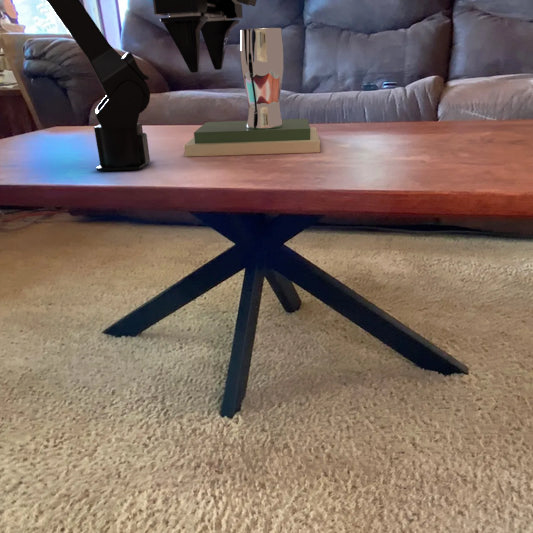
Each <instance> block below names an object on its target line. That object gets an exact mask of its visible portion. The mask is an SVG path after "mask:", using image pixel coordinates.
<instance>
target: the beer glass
mask: <svg viewBox="0 0 533 533" xmlns="http://www.w3.org/2000/svg"><path fill="white" fill-rule="evenodd" d="M239 38H240V39H239V40H240V42H239V43H240V44H239V45H240V48H239V53H240V56H239V57H240V69H241V75H242V80H243V85H244V89H245V94H246V98H247V109H248V111H247V118H246V119H247V120H246V121H247V128H249V129H274V128H279V127H282V126H283V123H282V120H283V119H282V113H281V93H282V92H281V91H282V85H283V78H284V77H283V76H284V69H285V68H284V66H285V55H284V54H285V53H284V42H283V29H282V27H259V28H245V29H243V28H242V29H240V37H239Z"/></svg>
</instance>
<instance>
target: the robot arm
mask: <svg viewBox="0 0 533 533" xmlns="http://www.w3.org/2000/svg"><path fill="white" fill-rule="evenodd" d="M45 2H46V3H47V4H48V5H49V7H50V8H51V10H52V11H53V12H54V14H55V16H57V18H58V19H59V21H60V22H61V23H62V25H63V27H64V28H65V29H66V30H67V32H68V33H69V35H70V36H71V37H72V38H73V40H74V42H75V43H76V44H77V46H78V47H79V48H80V50H81V51H82V53H83V54H84V56H85V57H86V59H87V60H88V61H89V63H90V65H91V68H92V70H93V71H94V73H95V76H96V77H97V80H98V82H99V84H100V85H101V87H102V90H103V92H104V94H105V97H103V99H102V100H101V102H100V103H99V104H98V105H97V106H96V108H95V109H94V113H95V117H96V119H97V121H98V123H99V124H98V125H95V126H94V127H93V130H94V136H95V142H96V148H97V153H98V159H99V166H96V167H95V170H96V172H111V171H112V172H114V171H115V172H116V171H137V170H138V171H139V170H142V169H143V168H144V167H145V166H147V165H148V164H149V163H150V162H151V159H150V158H151V157H150V150H149V142H148V135H147V133H146V132H144V131H143V123H142V122H139V118H140V114H141V113H143V112H144V111H145V110H146V109H147V108H148V106H149V104H150V101H151V100H150V99H151V90H150V87H149V84H148V83H147V81H148V80H150V78H149V76H147V75H146V74H145V73H144V72H143V71H142V70H141V69H140V67H139V65H138V63H137V61H136V59H135V57H134V55H133V53H132V52H130V51H129V52H126V53H124V55H123V56H121V55H120V53H119V52H118V51H117V50H116V49H115V48H114V47H113V46H112V45H111V44H110V43H109V41H108V39H107V38H106V37H105V36H104V34H103V33H102V31H101V30H100V28H99V26H98V25H97V24H96V21H95V20H94V19H93V17H92V16H91V15H90V13H89V12H88V11H87V9H86V8H85V6H84V5H83V4H82V1H80V0H45ZM152 4H153V14H154V15H155V16H163V17H160V18H159V21H160V23H161V24H163V26H164V27H165V29H166V30H167V32H168V34H169V35H170V37H171V39H172V40H173V42H174V44H175V46H176V47H177V50H178V51H179V53H180V55H181V57H182V59H183V60H184V62H185V64H186V66H187V69H188V70H189V72H190V73H191V74H194V73H199V68H200V44H201V41H200V40H201V38H200V37H201V35H202V37H203V41H204V43H205V46H206V50H207V53H208V56H209V59H210V61H211V63H212V66H213V69H214V70H216V71H218V70H219V71H220V70H222V69H223V65H224V61H225V60H224V59H225V55H226V48H227V43H228V40H229V34H230V32H231V31H232V30H233V29H234V28H235V26H237V25H238V24H239V23H240V21H241V19H243V4H244V5H246V6H252V7H256V5H257V0H152ZM165 16H168V17H165Z"/></svg>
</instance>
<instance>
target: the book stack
mask: <svg viewBox="0 0 533 533" xmlns="http://www.w3.org/2000/svg"><path fill="white" fill-rule="evenodd" d="M282 123H283V126H282V127H279V128H274V129H249V128H247V120H231V121H230V120H228V121H208V122H207V121H206V122H205V123H203V124H201V126H199V127H198V128H197V129H196V130H195V131H193V137H191V139H190V140H189V141H188V142H186V143H185V144H184V145H183V148H184V157H186V158H187V157H210V156H211V157H214V156H215V157H217V156H246V155H247V156H248V155H277V154H278V155H279V154H281V155H282V154H311V153H321V140H320V136H319V134H318V130H317V128H316V127H315V126H314V127H311V126H310V122H309V119H308V118H288V119H282Z"/></svg>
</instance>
